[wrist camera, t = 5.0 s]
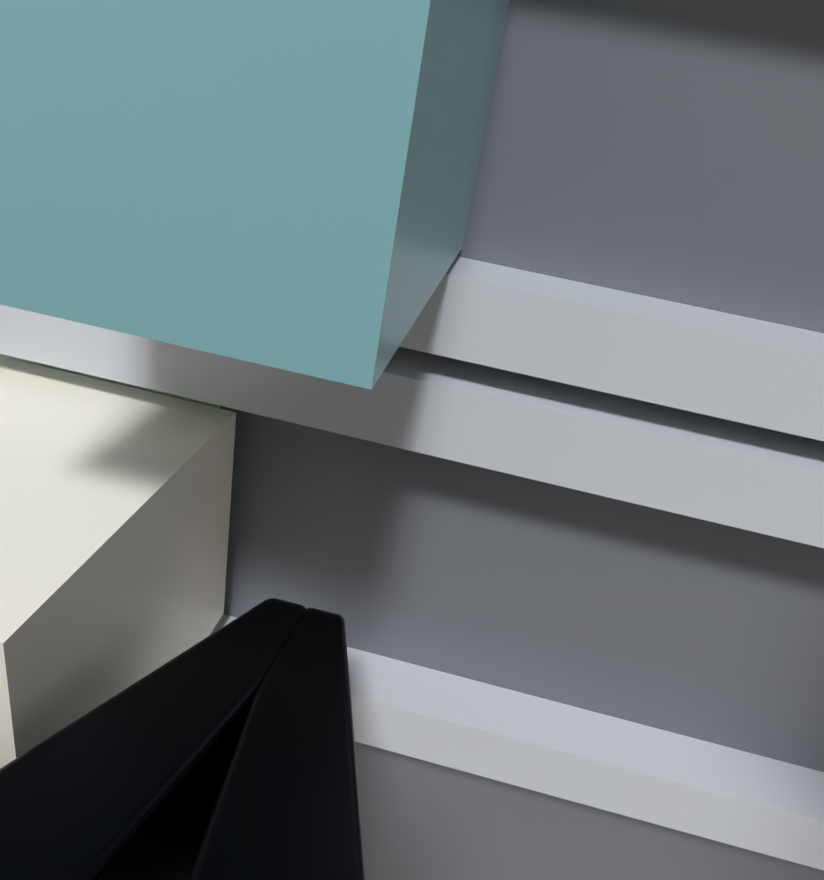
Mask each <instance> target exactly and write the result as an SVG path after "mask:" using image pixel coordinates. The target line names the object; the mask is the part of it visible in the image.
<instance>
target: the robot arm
mask: <svg viewBox="0 0 824 880" xmlns="http://www.w3.org/2000/svg"><path fill="white" fill-rule="evenodd" d="M0 880H366V879H365V866H364V854H363V841H362V829H361V816H360V804H359V791H358V779H357V766H356V754H355V742H354V729H353V717H352V704H351V692H350V679H349V667H348V654H347V642H346V629H345V620H344V618H343V617H342V616H341V615H339V614H335V613H331V612H327V611H323V610H319V609H316V608H308V609H306V608H305V606H303V605H300V604H296V603H292V602H288V601H285V600H281V599H277V598H270V599H267V600H265V601H263V602H261V603H260V604H258V605H257V606H255V607H253V608H252V609H250V610H249V611H247V612H246V613H244V614H242V615H241V616H239V617H238V618H236V619H235V620H233V621H231V622H230V623H228V624H227V625H225V626H224V627H222V628H220V629H219V630H217V631H216V632H214V633H213V634H211V635H209V636H208V637H206V638H205V639H203V640H202V641H200V642H198V643H197V644H195V645H194V646H192V647H191V648H189V649H187V650H186V651H184V652H183V653H181V654H180V655H178V656H176V657H175V658H173V659H172V660H170V661H168V662H167V663H165V664H164V665H162V666H161V667H159V668H157V669H156V670H154V671H153V672H151V673H150V674H148V675H146V676H145V677H143V678H142V679H140V680H139V681H137V682H135V683H134V684H132V685H131V686H129V687H128V688H126V689H124V690H123V691H121V692H120V693H118V694H117V695H115V696H113V697H112V698H110V699H109V700H107V701H106V702H104V703H102V704H101V705H99V706H98V707H96V708H95V709H93V710H91V711H90V712H88V713H87V714H85V715H83V716H82V717H80V718H79V719H77V720H76V721H74V722H72V723H71V724H69V725H68V726H66V727H65V728H63V729H61V730H60V731H58V732H57V733H55V734H54V735H52V736H50V737H49V738H47V739H46V740H44V741H43V742H41V743H39V744H38V745H36V746H35V747H33V748H32V749H30V750H28V751H27V752H25V753H24V754H22V755H21V756H19V757H17V758H16V759H14V760H13V761H11V762H10V763H8V764H6V765H5V766H3V767H2V768H0Z"/></svg>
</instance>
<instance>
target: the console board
mask: <svg viewBox="0 0 824 880" xmlns="http://www.w3.org/2000/svg"><path fill="white" fill-rule="evenodd" d="M0 356H1V357H5V358H9V359H13V360H17V361H22V362H26V363H30V364H34V365H39V366H43V367H47V368H51V369H55V370H60V371H64V372H68V373H72V374H77V375H81V376H85V377H89V378H93V379H98V380H102V381H106V382H110V383H115V384H119V385H123V386H127V387H132V388H136V389H140V390H144V391H148V392H153V393H157V394H161V395H165V396H170V397H174V398H178V399H182V400H186V401H191V402H195V403H199V404H203V405H208V406H212V407H216V408H220V409H224V410H229V411H233V412H236V424H235V439H234V455H233V471H232V487H231V503H230V519H229V535H228V551H227V567H226V583H225V599H224V613H223V615H222V616H221V618H220V620H219V621H218V623H217V624H216V626H215V627H214V629H213V630H212V632H211V633H210V635H211V634H213V633H214V632H216V631H217V630H219V629H220V628H222V627H224V626H225V625H227V624H228V623H230V622H231V621H233V620H235V619H236V618H238V617H239V616H241V615H242V614H244V613H246V612H247V611H249V610H250V609H252V608H253V607H255V606H257V605H258V604H260V603H261V602H263V601H265V600H267V599H270V598H277V599H281V600H285V601H288V602H292V603H296V604H300V605H303V606H305V608H306V609H308V608H316V609H319V610H323V611H327V612H331V613H335V614H339V615H341V616H342V617H343V618H344V620H345V629H346V642H347V654H348V667H349V679H350V692H351V704H352V717H353V729H354V742H355V754H356V766H357V779H358V791H359V804H360V816H361V829H362V841H363V854H364V866H365V879H366V880H824V0H0Z"/></svg>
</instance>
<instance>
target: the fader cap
mask: <svg viewBox="0 0 824 880" xmlns="http://www.w3.org/2000/svg"><path fill="white" fill-rule="evenodd" d="M235 424H236V412H233V411H229V410H224V409H220V408H216V407H212V406H208V405H203V404H199V403H195V402H191V401H186V400H182V399H178V398H174V397H170V396H165V395H161V394H157V393H153V392H148V391H144V390H140V389H136V388H132V387H127V386H123V385H119V384H115V383H110V382H106V381H102V380H98V379H93V378H89V377H85V376H81V375H77V374H72V373H68V372H64V371H60V370H55V369H51V368H47V367H43V366H39V365H34V364H30V363H26V362H22V361H17V360H13V359H9V358H5V357H1V356H0V768H2V767H3V766H5V765H6V764H8V763H10V762H11V761H13V760H14V759H16V758H17V757H19V756H21V755H22V754H24V753H25V752H27V751H28V750H30V749H32V748H33V747H35V746H36V745H38V744H39V743H41V742H43V741H44V740H46V739H47V738H49V737H50V736H52V735H54V734H55V733H57V732H58V731H60V730H61V729H63V728H65V727H66V726H68V725H69V724H71V723H72V722H74V721H76V720H77V719H79V718H80V717H82V716H83V715H85V714H87V713H88V712H90V711H91V710H93V709H95V708H96V707H98V706H99V705H101V704H102V703H104V702H106V701H107V700H109V699H110V698H112V697H113V696H115V695H117V694H118V693H120V692H121V691H123V690H124V689H126V688H128V687H129V686H131V685H132V684H134V683H135V682H137V681H139V680H140V679H142V678H143V677H145V676H146V675H148V674H150V673H151V672H153V671H154V670H156V669H157V668H159V667H161V666H162V665H164V664H165V663H167V662H168V661H170V660H172V659H173V658H175V657H176V656H178V655H180V654H181V653H183V652H184V651H186V650H187V649H189V648H191V647H192V646H194V645H195V644H197V643H198V642H200V641H202V640H203V639H205V638H206V637H208V636H209V635H210V633H211V632H212V630H213V629H214V627H215V626H216V624H217V623H218V621H219V620H220V618H221V616H222V615H223V613H224V599H225V583H226V567H227V551H228V535H229V519H230V503H231V487H232V471H233V455H234V439H235Z"/></svg>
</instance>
